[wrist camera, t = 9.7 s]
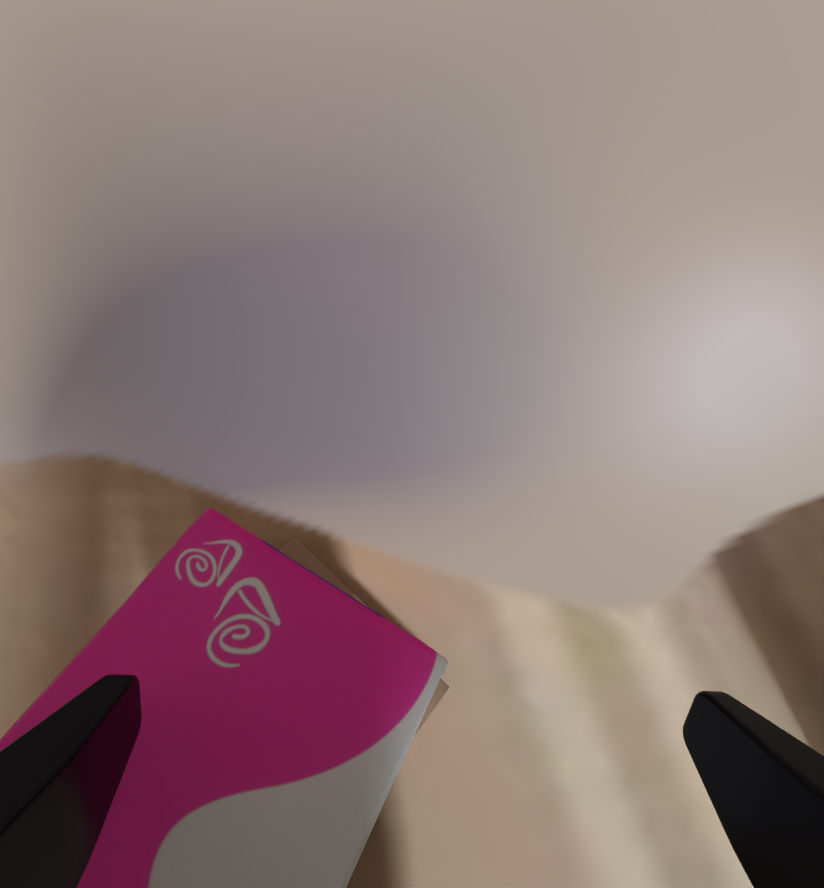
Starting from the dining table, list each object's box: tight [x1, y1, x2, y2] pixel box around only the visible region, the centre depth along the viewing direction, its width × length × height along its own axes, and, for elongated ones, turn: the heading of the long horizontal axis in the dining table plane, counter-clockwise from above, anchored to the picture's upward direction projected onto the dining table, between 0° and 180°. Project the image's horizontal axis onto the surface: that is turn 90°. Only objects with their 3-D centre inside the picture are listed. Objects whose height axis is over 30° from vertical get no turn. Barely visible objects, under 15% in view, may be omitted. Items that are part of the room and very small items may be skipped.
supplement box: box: [0, 508, 448, 888], centre depth 12 cm, size 6×6×12 cm
